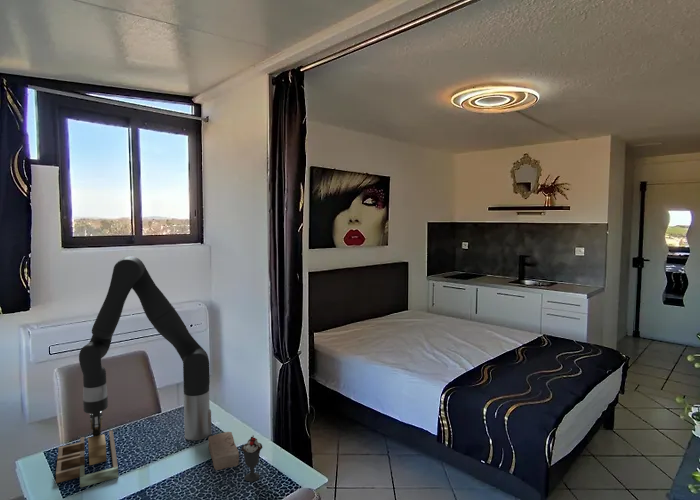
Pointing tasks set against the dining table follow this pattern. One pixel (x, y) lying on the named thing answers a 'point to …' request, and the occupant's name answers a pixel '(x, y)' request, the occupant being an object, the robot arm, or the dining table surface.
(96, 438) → the block
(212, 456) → the brick
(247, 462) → the sundae
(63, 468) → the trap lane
